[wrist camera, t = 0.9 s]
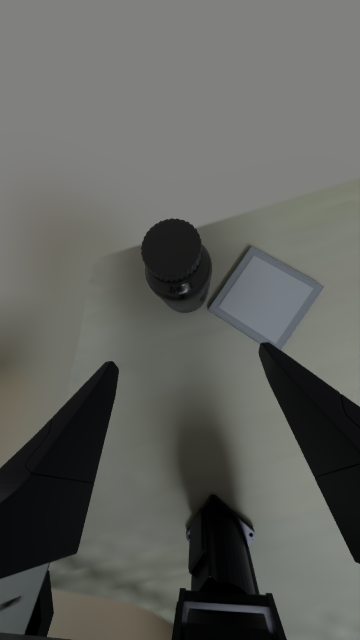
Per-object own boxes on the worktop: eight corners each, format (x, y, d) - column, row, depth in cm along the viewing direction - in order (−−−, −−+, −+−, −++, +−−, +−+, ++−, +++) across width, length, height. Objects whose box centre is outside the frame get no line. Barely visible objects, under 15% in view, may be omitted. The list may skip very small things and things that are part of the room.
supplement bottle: (215, 281, 23) (233, 224, 11) (195, 321, 23) (190, 307, 11) (176, 263, 24) (153, 193, 12) (156, 301, 24) (113, 269, 12)
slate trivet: (319, 288, 21) (325, 286, 20) (274, 353, 21) (278, 354, 20) (249, 249, 23) (251, 246, 22) (208, 309, 23) (208, 309, 22)
